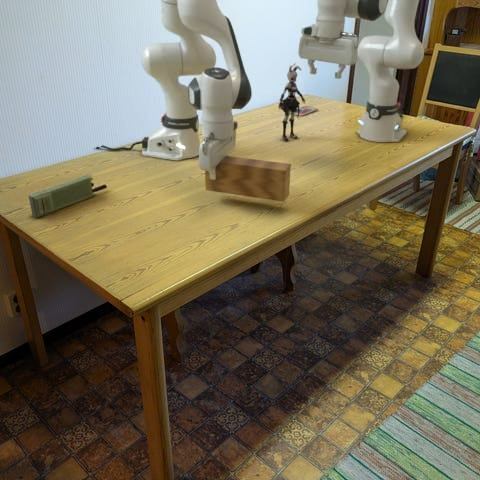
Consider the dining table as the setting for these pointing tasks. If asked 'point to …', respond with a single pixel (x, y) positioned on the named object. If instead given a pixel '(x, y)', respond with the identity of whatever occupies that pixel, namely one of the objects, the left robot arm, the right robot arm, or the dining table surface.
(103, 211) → the dining table surface
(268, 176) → the bar
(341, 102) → the dining table surface
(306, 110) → the smartphone
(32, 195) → the handheld radio
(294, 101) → the figurine
